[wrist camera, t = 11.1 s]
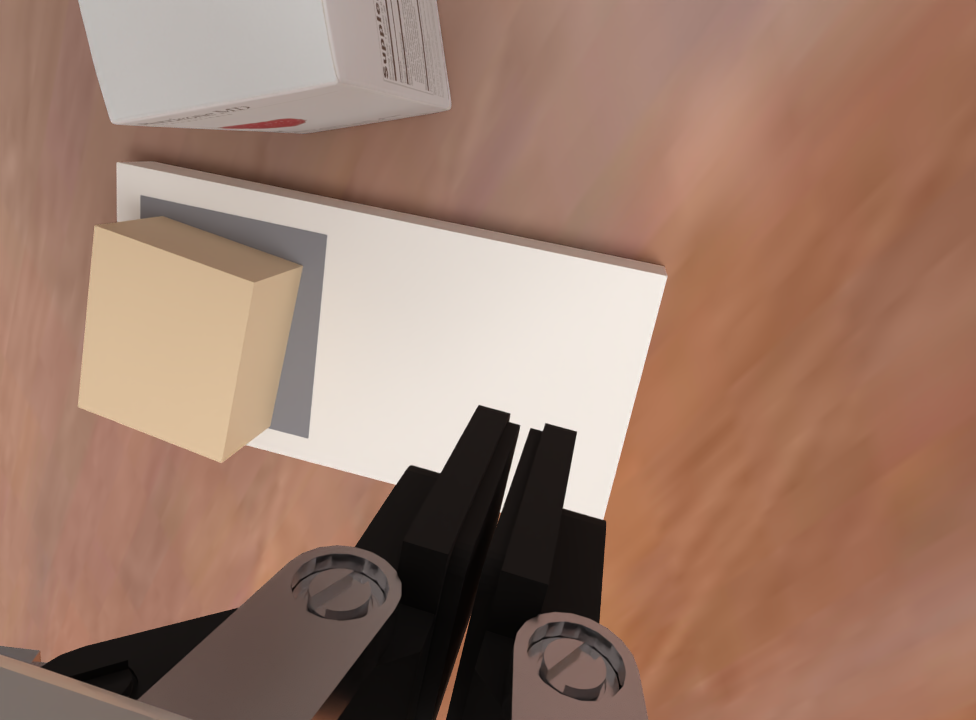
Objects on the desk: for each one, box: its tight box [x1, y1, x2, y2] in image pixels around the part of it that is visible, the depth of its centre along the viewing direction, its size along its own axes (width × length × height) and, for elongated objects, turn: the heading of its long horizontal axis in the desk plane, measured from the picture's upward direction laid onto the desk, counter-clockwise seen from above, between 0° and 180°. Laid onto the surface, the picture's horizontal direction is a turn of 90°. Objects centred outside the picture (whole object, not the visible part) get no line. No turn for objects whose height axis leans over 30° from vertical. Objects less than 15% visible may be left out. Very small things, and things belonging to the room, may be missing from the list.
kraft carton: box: [78, 216, 303, 463], centre depth 36 cm, size 10×8×5 cm
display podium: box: [117, 161, 667, 520], centre depth 39 cm, size 15×30×3 cm, turn 80°
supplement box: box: [78, 0, 451, 134], centre depth 28 cm, size 9×9×15 cm
